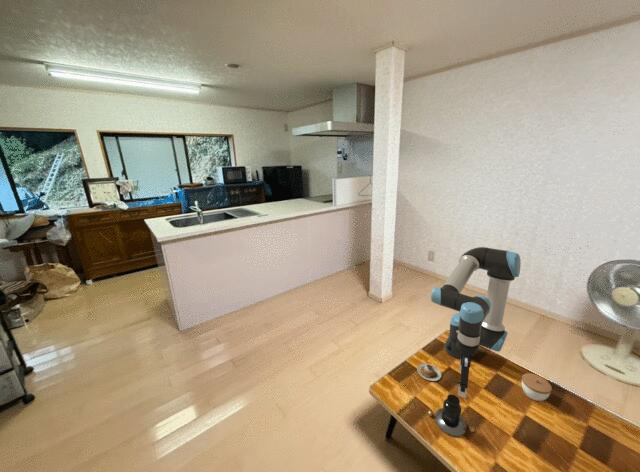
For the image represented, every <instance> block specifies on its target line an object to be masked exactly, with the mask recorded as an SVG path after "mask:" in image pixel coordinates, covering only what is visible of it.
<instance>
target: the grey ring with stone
mask: <svg viewBox="0 0 640 472" xmlns="http://www.w3.org/2000/svg"><path fill="white" fill-rule="evenodd" d="M416 369H417V370H416V371H417V373H418V375H419V376H420V377H421V378H423V379H424V380H426V381H430V382H437V381H439V380H441V379H442V372H441V370H440V369H439V368H438V367H437V366H436V365H434V364H431V363H420V364H418V366H417V367H416ZM422 369H423V370H422Z"/></svg>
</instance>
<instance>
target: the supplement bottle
mask: <svg viewBox="0 0 640 472" xmlns="http://www.w3.org/2000/svg"><path fill="white" fill-rule="evenodd" d="M460 403H461V401H460V398H459V397H458V395H455V394H448V395H447V397H446V399H444V400H443V404H442V408H443V410H442V420H443V422H444V423H445V424H446V425H447V426H449V427H452V428H455V427H457V426H458V425H459V421H460V415H461V414H462V407H461V404H460ZM461 416H462V415H461Z"/></svg>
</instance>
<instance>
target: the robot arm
mask: <svg viewBox="0 0 640 472" xmlns="http://www.w3.org/2000/svg"><path fill="white" fill-rule="evenodd" d="M521 263H522V262H521V256H520V254H519V253H517V252H513V251H510V250H504V249H498V248H491V247H488V246H487V247H486V246H480V247H475V248H472V249H469V250H467V251H465V252H464V253H462V255H461V256H460V257H459V259H458V264H457V265H456V267H455V268H454V269H453V271H452V273H450V274H449V276H448V278H447V280H446V281H445V283H444V284H443V285H442V286H435V287H433V289H432V291H431V293H430V301H431V302H432V303H434V304H435V305H438V306H442V307H444V308H448V309H450V310H454V311H457V312H456V313H453V314H452V315H451V318H450V321H449V323H450V324H449V332H448V333H449V334H448V337H447V338H446V341H444V350H445V351H446V353H447V354H448V355H450V356H451V357H453V358H455V359H458V360H460V361H459V369H458V371H459V372H460V378H459V379H460V380H459V381H457V384H458V391H457V397H458V396H459V397H461V398H464V399H466V398H467V390H468V387H469V386H468V384H469V375H470V368H471V366H472V365H471V363H472V360H473V357H474V356H475V355H477V354H478V352H479V346H481V347H484V348H487V349H489V350H490V351H491V350H492V351H494V352H500V351H502V348H503V346H504V345H505V341H506V339H507V337H508V334H509V332H508V331H506V328H505V326H504V324H503V321H504V316H505V309H506V305H507V301H508V294H509V289H510V286H511V285H510V284H511V282H513V281H515V278H518V277H519V276H520V273H521ZM477 270H484V271H487V272H486V275H487V276H488V278H489V280H488V286H487V292H486V296H485V295H481V294H478V295H474V296H470V295H467V294H463V293H461V292H462V291H463V289H464V288H465V286H466V285H467V283H468V281H469V279H470V278H471V277H472V275H473V273H474V272H477Z"/></svg>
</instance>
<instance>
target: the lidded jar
mask: <svg viewBox="0 0 640 472" xmlns="http://www.w3.org/2000/svg"><path fill="white" fill-rule="evenodd" d="M521 388H522V390H523V392H524V394H525V395H526V396H527V397H528V398H529V399H531V400H533V401H536V402H542V401H545V400H547V399H548V398H550V395H551V392H552V390H553V388H552V385H551V383H550V382H549V381H547V379H545V378H544V377H542V376H539V375H537V374H534V373H527V372H526V373H525V374H523V375H522V376H521Z"/></svg>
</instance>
